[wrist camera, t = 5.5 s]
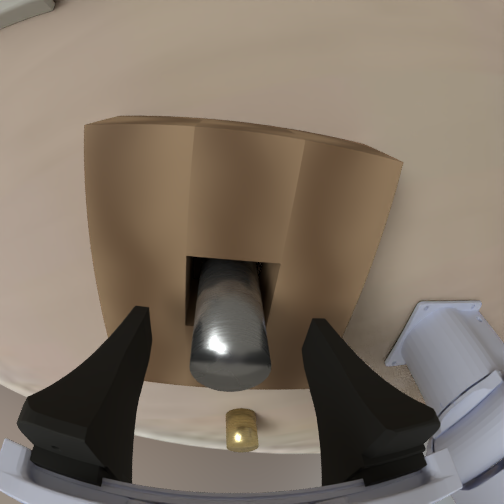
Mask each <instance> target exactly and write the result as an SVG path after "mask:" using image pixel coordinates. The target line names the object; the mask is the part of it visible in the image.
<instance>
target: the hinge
mask: <svg viewBox="0 0 504 504" xmlns="http://www.w3.org/2000/svg"><path fill="white" fill-rule="evenodd" d="M54 6H55V3H54V1H53V0H0V29H2V28H4V27H7V26H9V25H12V24H14V23H17V22H20V21H22V20H25V19H28V18H31V17H34V16H37V15H40V14H43V13H46V12H50V11H53V9H54Z"/></svg>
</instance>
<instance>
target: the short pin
mask: <svg viewBox="0 0 504 504" xmlns="http://www.w3.org/2000/svg"><path fill="white" fill-rule="evenodd" d="M226 441H227V449H228V450H230V451H234V452H249V451H253V450H255V449H257V448H258V436H257V426H256V416H255V412H254V411H252V410H249V409H243V408H240V409H233V410H231V411H229V412H227V413H226Z"/></svg>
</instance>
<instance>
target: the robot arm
mask: <svg viewBox="0 0 504 504" xmlns="http://www.w3.org/2000/svg"><path fill="white" fill-rule="evenodd" d="M481 305H482V303H481V302H480V301H422V302H419V303H418V304H417V306H416V307H415V309H414V311H413V313H412V315H411V317H410V319H409V321H408V323H407V324H406V326H405V328H404V330H403V332H402V333H401V335H400V337H399V339H398V341H397V342H396V344H395V346H394V347H393V349H392V351H391V352H390V354H389V356H388V357H387V359H386V361H385V365H386V366H396V365H404V364H406V365H407V367H408V369H409V370H410V372H411V374H412V376H413V378H414V380H415V382H416V384H417V386H418V388H419V390H420V392H421V394H422V396H423V399H424V401H425V403H426V405H425V404H423V403H420V402H418V401H416V400H414V399H413V398H411V397H409V396H407V395H406V394H404V393H402V392H401V391H399V390H398V389H396V388H395V387H393V386H392V385H391V384H389V383H388V382H386V381H385V380H384V379H383V378H381V377H380V376H379V375H378V374H377V373H375V372H374V371H373V370H372V369H371V368H370V367H369V366H367V365H366V364H365V363H364V362H363V361H362V360H361V359H360V358H359V357H358V356H357V355H356V354H355V352H354V351H353V350H352V349H351V348H350V347H349V346H348V345H347V344H346V343H345V341H344V340H343V339H342V338H341V337H340V336H339V334H338V333H337V332H336V331H335V330H334V328H333V327H332V326H331V325H330V324H329V323H328V321H327V320H326V319H325V318H312V321H311V324H310V326H309V329H308V332H307V335H306V338H305V341H304V343H303V346H302V357H303V365H304V370H305V374H306V378H307V381H308V385H309V389H310V392H311V396H312V400H313V403H314V407H315V411H316V416H317V424H318V431H319V440H320V450H321V466H322V487H315V488H308V489H300V490H290V491H279V492H264V493H205V492H190V491H179V490H170V489H161V488H155V487H148V486H142V485H136V484H132V455H133V439H134V429H135V420H136V412H137V406H138V401H139V397H140V393H141V389H142V385H143V382H144V378H145V374H146V371H147V367H148V363H149V359H150V353H151V347H152V331H151V322H150V312H149V307H143V306H135V307H133V309H132V310H131V311H130V313H129V314H128V315H127V316H126V318H125V319H124V320H123V321H122V323H121V324H120V325H119V326H118V327H117V329H116V330H115V331H114V332H113V333H112V334H111V336H110V337H109V338H108V339H107V340H106V341H105V342H104V343H103V344H102V345H101V346H100V347H99V348H98V349H97V350H96V351H95V352H94V353H93V354H92V355H91V356H90V357H89V358H88V359H87V360H85V361H84V362H83V363H82V364H81V365H79V366H78V367H77V368H76V369H74V370H73V371H72V372H70V373H69V374H68V375H66V376H65V377H63V378H62V379H60V380H59V381H57V382H55V383H54V384H52V385H51V386H49V387H47V388H45V389H43V390H41V391H39V392H37V393H35V394H33V395H31V396H28V397H27V399H26V401H25V403H24V405H23V408H22V410H21V413H20V415H19V418H18V421H17V425H18V428H19V429H20V431H21V432H22V433H23V434H24V435H25V436H26V437H27V438H28V439H29V440H30V441H31V442H32V443H33V444H34V447H33V450H30V449H29V448H27V447H25V446H23V445H20V444H18V443H16V442H14V441H12V440H9V439H7V438H5V440H4V442H3V445H2V448H1V451H0V491H2V492H3V493H5V494H7V495H8V496H10V497H12V498H14V499H15V500H17V501H19V502H21V503H23V504H434V503H436V502H438V501H440V500H442V499H444V498H446V497H447V496H449V495H451V496H452V498H453V500H454V501H455V503H456V504H504V343H503V341H502V340H501V339H500V337H499V336H498V335H497V333H496V332H495V331H494V330H493V328H492V327H491V326H490V325H489V323H488V322H487V321H486V320H485V318H484V317H483V316H482V315H481V313H480V312H479V309H480V307H481ZM429 438H430V439H429ZM428 439H429V441H428V445H427V454H426V456H425V457H424V455H423V452H424V451H425V446H424V443H425V442H426V441H427V440H428ZM501 459H502V460H501ZM500 460H501V461H500ZM497 462H498V463H497ZM496 463H497V464H496ZM493 465H494V466H493ZM490 467H491V468H490Z"/></svg>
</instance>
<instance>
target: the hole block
mask: <svg viewBox="0 0 504 504" xmlns="http://www.w3.org/2000/svg"><path fill="white" fill-rule="evenodd" d="M402 166H403V162H401V161H399V160H397V159H395V158H393V157H391V156H389V155H387V154H385V153H383V152H380V151H378V150H376V149H374V148H372V147H369V146H367V145H365V144H361V143H357V142H353V141H349V140H344V139H340V138H335V137H330V136H326V135H321V134H315V133H310V132H305V131H299V130H293V129H287V128H281V127H275V126H268V125H261V124H253V123H245V122H236V121H227V120H216V119H204V118H189V117H169V116H117V117H113V118H109V119H105V120H101V121H98V122H94V123H90V124H87V125H84V170H85V192H86V206H87V218H88V228H89V236H90V245H91V252H92V259H93V266H94V272H95V278H96V284H97V289H98V294H99V300H100V304H101V309H102V314H103V318H104V323H105V327H106V331H107V335H108V338H109V337H110V336H111V334H112V333H113V332H114V331H115V330H116V329H117V327H118V326H119V325H120V324H121V323H122V321H123V320H124V319H125V318H126V316H127V315H128V314H129V313H130V311H131V310H132V309H133V307H135V306H143V307H149V312H150V322H151V331H152V347H151V353H150V359H149V363H148V367H147V371H146V374H145V378H144V381H149V382H156V383H165V384H174V385H184V386H195V387H206V386H204V385H202V384H200V383H199V382H198V381H197V380H195V378H194V377H193V376H192V374H191V372H190V368H189V365H190V355H191V346H192V336H193V328H194V319H195V311H196V303H197V295H198V287H199V279H192V278H193V256H195V257H207V258H218V259H230V260H242V261H254V262H262V267H261V272H260V278H259V286H260V293H261V299H262V306H263V313H264V319H265V326H266V333H267V339H268V346H269V352H270V359H271V371H270V374H269V375H268V377H267V378H266V379H265V380H264V381H263V382H262V383H260V384H259V385H257V386H255V387H252V388H250V389H309V385H308V381H307V378H306V374H305V370H304V365H303V357H302V346H303V343H304V341H305V338H306V335H307V332H308V329H309V326H310V324H311V321H312V318H325V319H326V320H327V321H328V323H329V324H330V325H331V326H332V327H333V328H334V330H335V331H336V332H337V333H338V334H339V336H340V337H341V338H342V336H343V334H344V332H345V329H346V327H347V325H348V323H349V320H350V318H351V316H352V313H353V311H354V308H355V306H356V304H357V301H358V299H359V296H360V294H361V291H362V289H363V286H364V284H365V281H366V278H367V276H368V273H369V271H370V268H371V265H372V262H373V260H374V257H375V254H376V251H377V248H378V246H379V243H380V240H381V237H382V234H383V231H384V228H385V225H386V221H387V218H388V215H389V212H390V209H391V205H392V202H393V199H394V195H395V192H396V188H397V184H398V181H399V177H400V173H401V170H402Z"/></svg>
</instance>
